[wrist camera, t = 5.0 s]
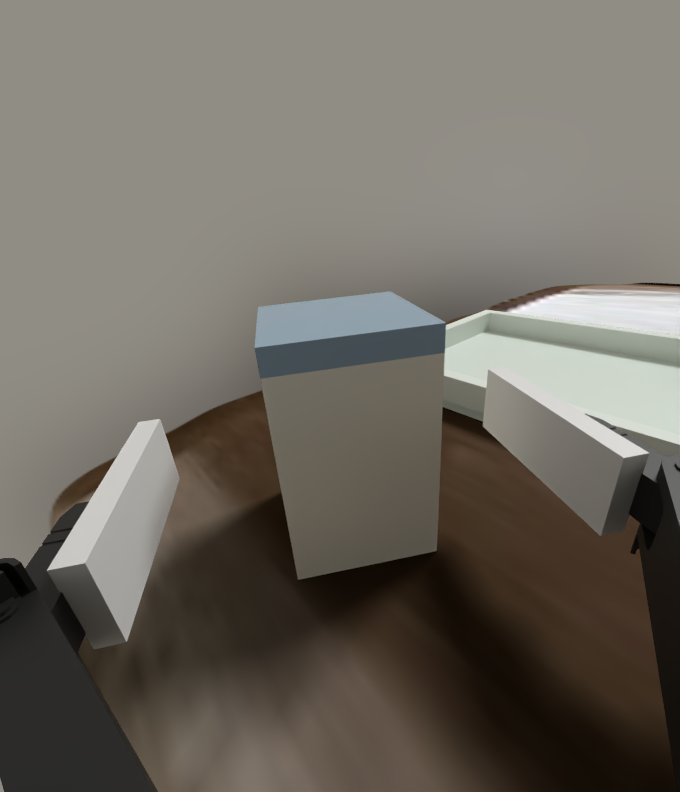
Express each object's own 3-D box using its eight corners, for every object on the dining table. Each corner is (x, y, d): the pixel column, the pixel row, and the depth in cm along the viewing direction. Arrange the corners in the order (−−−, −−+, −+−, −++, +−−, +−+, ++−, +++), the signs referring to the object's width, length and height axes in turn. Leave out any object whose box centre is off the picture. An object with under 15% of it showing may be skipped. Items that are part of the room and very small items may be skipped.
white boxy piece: (394, 469, 22) (390, 291, 17) (436, 551, 16) (446, 322, 12) (289, 487, 21) (258, 306, 17) (297, 580, 16) (254, 348, 11)
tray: (484, 331, 43) (486, 309, 42) (762, 381, 27) (777, 348, 26) (371, 381, 33) (370, 354, 32) (707, 503, 17) (726, 458, 16)
